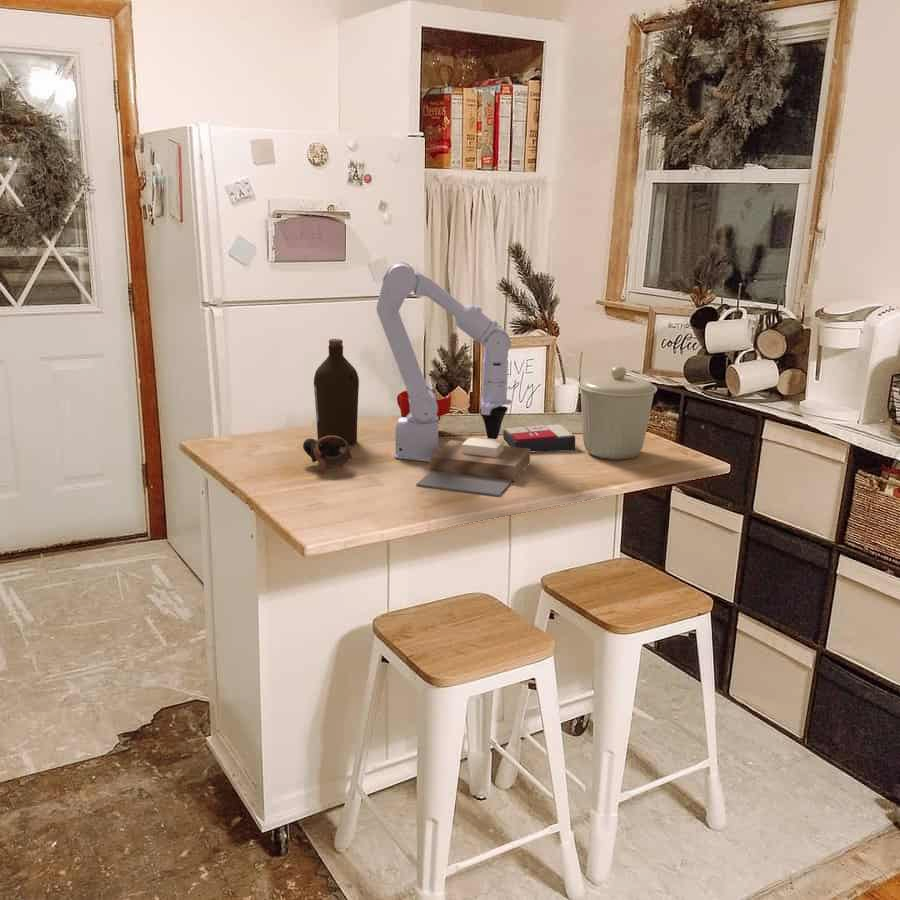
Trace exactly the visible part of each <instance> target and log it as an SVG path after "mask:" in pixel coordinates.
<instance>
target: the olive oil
mask: <svg viewBox="0 0 900 900" xmlns="http://www.w3.org/2000/svg"><path fill="white" fill-rule="evenodd" d="M343 343H344V342H343V339H339V338H330V339H329V340H328V344H329V345H328V356H327V357H326V359H325V360H324V361H323V362H322V363H321V364H320V365H319V366H318V368H316V371H315V372H314V377H313V389H314V390H313V391H314V402H315V403H314V404H315V417H316V433H317V435H316V436H317V441H318V440H319V439H321V438H322V437H325V436H330V435H331V436H332V435H333V436H338V437H341V438H343V439H345V440H346V441H347V442H348V444H349V447H352V446H355V445H356V444H357V442H358V411H359V407H358V406H359V388H360V387H359V386H360V380H359V379H360V378H359V375H358V372H357V370H356V368H355V367H354V366H353V365H352V364H351V363H350V361H348V359H346V357H345V356H344V345H343ZM321 445H323V444H320V446H321ZM341 448H345V445H341V447H340V449H341Z"/></svg>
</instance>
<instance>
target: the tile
mask: <svg viewBox="0 0 900 900" xmlns="http://www.w3.org/2000/svg"><path fill="white" fill-rule="evenodd" d="M504 443H505V442H504V441H503V440H497V439H489V438H487V439H486V438H479V437H469V438H467V439H466V440H464V443H463V444H462V451H461V453H466V454H474V455H483V456H491V457H497V456H498V455H499V454H500V453H501V452H502V451H503V448H504V446H505V445H504Z"/></svg>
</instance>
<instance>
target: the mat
mask: <svg viewBox="0 0 900 900" xmlns="http://www.w3.org/2000/svg"><path fill="white" fill-rule="evenodd" d="M510 483H511V484H512V480H504V479H496V478H488V477H480V476H472V475H464V474H455V473H447V472H439V471H431V472H428V473H427V474H426V475H425V476H424V477H423V478H422V479H420V480H419V481H418V482H417V483H416V485H415V486H416V487H420V488H421V487H422V488H428V489H437V488H438V489H439V490H444V489H445V490H446V491H452V490H453V491H454V492H459V491H462V492H461V493H467V492H470V494H475V493H480V494H479V495H483V494H488V495H487V496H490V495H497V496H496V497H498V496H500V495H501V496H502V494H503V493H504V492H505V491H506V490H507V488H508V487H509V486H510V485H511V484H510ZM509 484H510V485H509ZM508 485H509V486H508ZM505 489H506V490H505ZM504 490H505V491H504ZM503 491H504V492H503ZM502 492H503V493H502ZM501 496H500V497H501Z"/></svg>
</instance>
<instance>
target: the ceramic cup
mask: <svg viewBox="0 0 900 900" xmlns="http://www.w3.org/2000/svg"><path fill="white" fill-rule="evenodd" d="M430 389H431V390H432V391H433V392H434V393H435V391H434V388H433V389H432V388H430ZM448 393H449V397H448V398H445V399H441V400H436V402H437V405H438V412H437V414H436V415H437V416H438V417H439V419H438V424H439V420H440V416H441V415H444V414H447V413H449V412H451V406H452V394H451V393H450V392H448ZM396 402H397V405H398V407H399V410H400V415H401V417H407V415H409V413H410V404H409V396H408V393H407V390H403V391H402V392H399V393H398V395H397V397H396ZM449 414H450V413H449Z"/></svg>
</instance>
